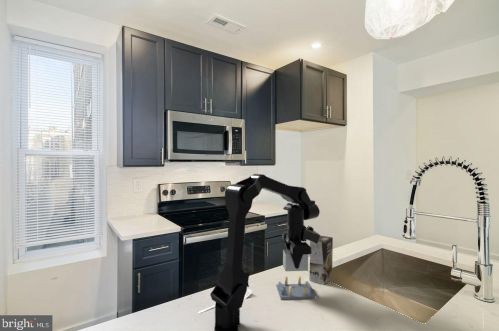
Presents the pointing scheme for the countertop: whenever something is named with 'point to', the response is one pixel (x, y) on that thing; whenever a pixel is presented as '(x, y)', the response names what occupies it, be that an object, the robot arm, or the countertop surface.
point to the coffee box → (321, 260)
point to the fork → (214, 305)
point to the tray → (295, 290)
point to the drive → (289, 263)
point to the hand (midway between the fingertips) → (295, 265)
